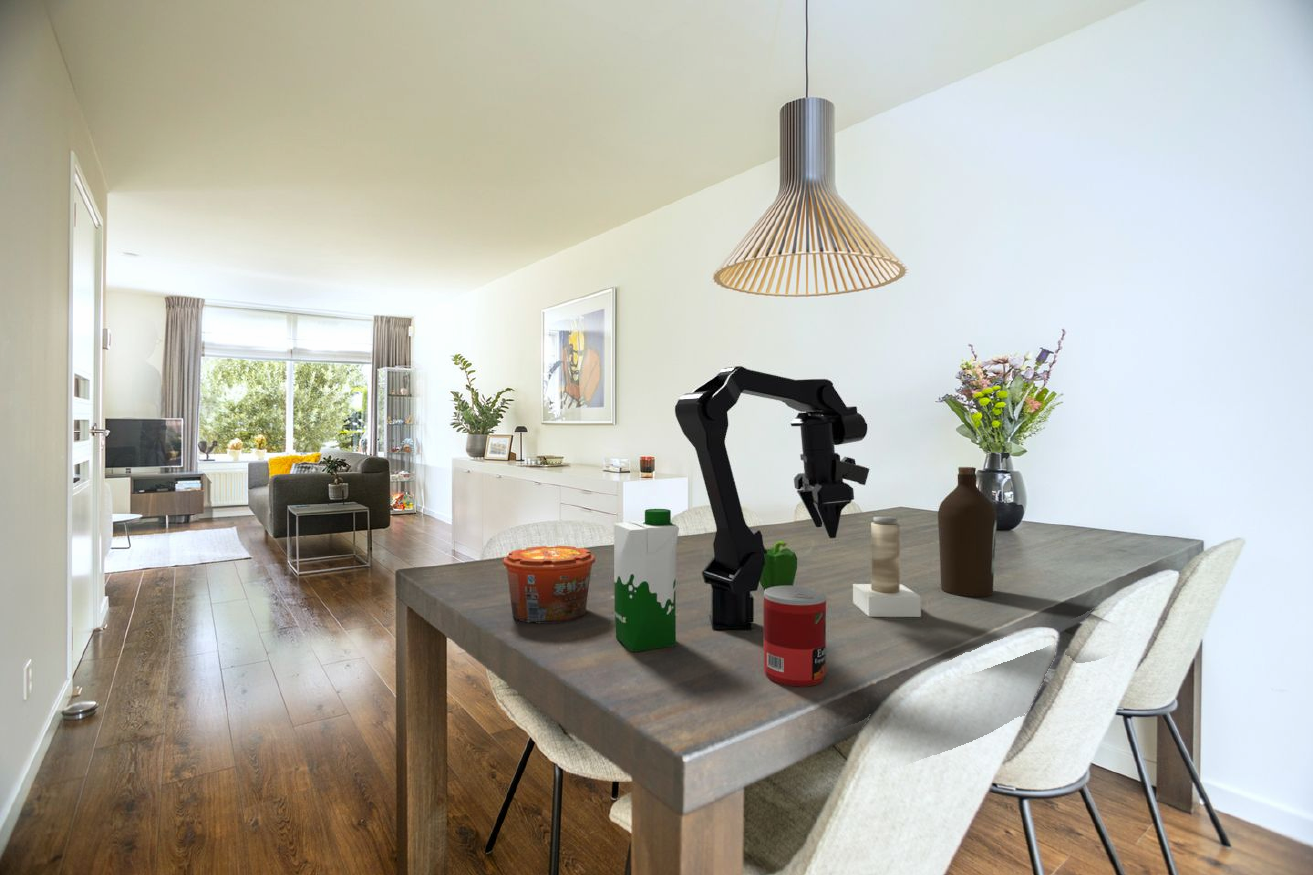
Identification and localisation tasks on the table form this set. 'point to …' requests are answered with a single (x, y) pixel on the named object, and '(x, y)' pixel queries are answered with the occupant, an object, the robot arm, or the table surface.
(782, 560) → the bell pepper
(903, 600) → the stoneware block
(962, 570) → the olive oil
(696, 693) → the table surface
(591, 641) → the table surface
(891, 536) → the salt mill
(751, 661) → the table surface
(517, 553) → the food container
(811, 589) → the canned food
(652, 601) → the milk carton
